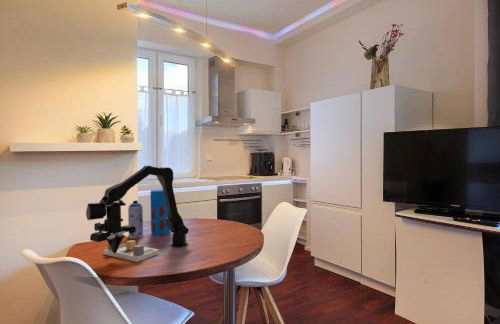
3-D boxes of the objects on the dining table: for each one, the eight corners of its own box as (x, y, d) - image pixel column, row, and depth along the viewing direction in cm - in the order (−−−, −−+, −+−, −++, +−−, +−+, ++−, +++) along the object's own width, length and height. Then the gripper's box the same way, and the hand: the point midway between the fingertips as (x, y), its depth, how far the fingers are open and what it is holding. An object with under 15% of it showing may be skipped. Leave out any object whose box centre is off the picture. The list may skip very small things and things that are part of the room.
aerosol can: (140, 238, 170) (140, 201, 169) (126, 238, 169) (125, 201, 169) (145, 234, 178) (144, 199, 177) (131, 234, 177) (130, 199, 177)
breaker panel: (125, 247, 152) (125, 236, 152) (158, 253, 141) (158, 241, 141) (103, 254, 142) (103, 241, 142) (137, 261, 131) (136, 248, 131)
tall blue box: (171, 234, 176) (171, 190, 176) (151, 236, 172) (151, 191, 172) (169, 230, 186) (168, 189, 186) (150, 232, 182) (149, 190, 182)
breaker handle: (131, 247, 144) (131, 239, 144) (135, 248, 142) (135, 240, 142) (126, 249, 141) (125, 241, 141) (130, 250, 139) (130, 242, 139)
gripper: (120, 211, 146) (120, 244, 146) (81, 219, 130) (82, 256, 130) (136, 213, 140) (137, 248, 141) (98, 221, 124) (99, 260, 124)
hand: (114, 252), depth 134 cm, fingers closed
